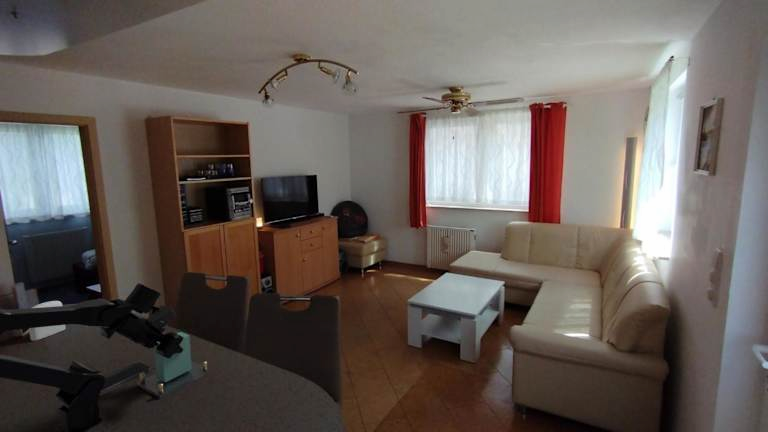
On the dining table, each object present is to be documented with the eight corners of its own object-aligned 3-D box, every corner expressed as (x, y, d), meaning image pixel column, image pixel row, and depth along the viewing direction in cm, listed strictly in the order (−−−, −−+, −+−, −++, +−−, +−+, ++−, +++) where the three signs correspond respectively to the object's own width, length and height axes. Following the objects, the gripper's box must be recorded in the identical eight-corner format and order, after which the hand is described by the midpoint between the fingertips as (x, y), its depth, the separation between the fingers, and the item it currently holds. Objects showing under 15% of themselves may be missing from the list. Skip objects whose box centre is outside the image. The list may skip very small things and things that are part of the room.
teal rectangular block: (165, 382, 104) (162, 346, 102) (156, 377, 106) (153, 342, 104) (191, 369, 111) (189, 335, 109) (183, 365, 113) (180, 331, 111)
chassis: (160, 398, 99) (159, 387, 99) (137, 385, 105) (136, 374, 104) (210, 372, 112) (209, 361, 112) (187, 361, 118) (187, 351, 117)
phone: (152, 368, 112) (95, 394, 99) (152, 371, 113) (96, 398, 100) (138, 361, 116) (81, 386, 103) (138, 364, 116) (82, 389, 103)
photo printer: (34, 342, 129) (30, 309, 128) (27, 339, 131) (23, 307, 129) (68, 329, 139) (64, 299, 137) (61, 328, 140) (57, 297, 139)
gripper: (174, 308, 97) (213, 331, 108) (137, 294, 106) (177, 317, 117) (144, 348, 91) (189, 368, 102) (108, 330, 100) (153, 350, 111)
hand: (177, 349), depth 108 cm, fingers open, 5 cm apart
